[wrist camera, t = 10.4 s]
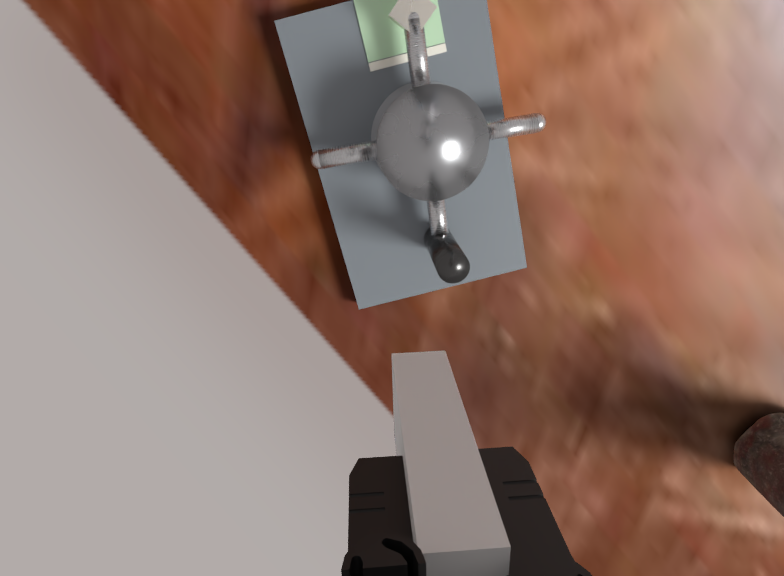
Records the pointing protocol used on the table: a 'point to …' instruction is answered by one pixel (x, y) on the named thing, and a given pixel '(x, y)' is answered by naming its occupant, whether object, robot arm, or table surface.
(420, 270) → the stand plate
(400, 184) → the cam capstan
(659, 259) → the table surface
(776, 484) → the candle
